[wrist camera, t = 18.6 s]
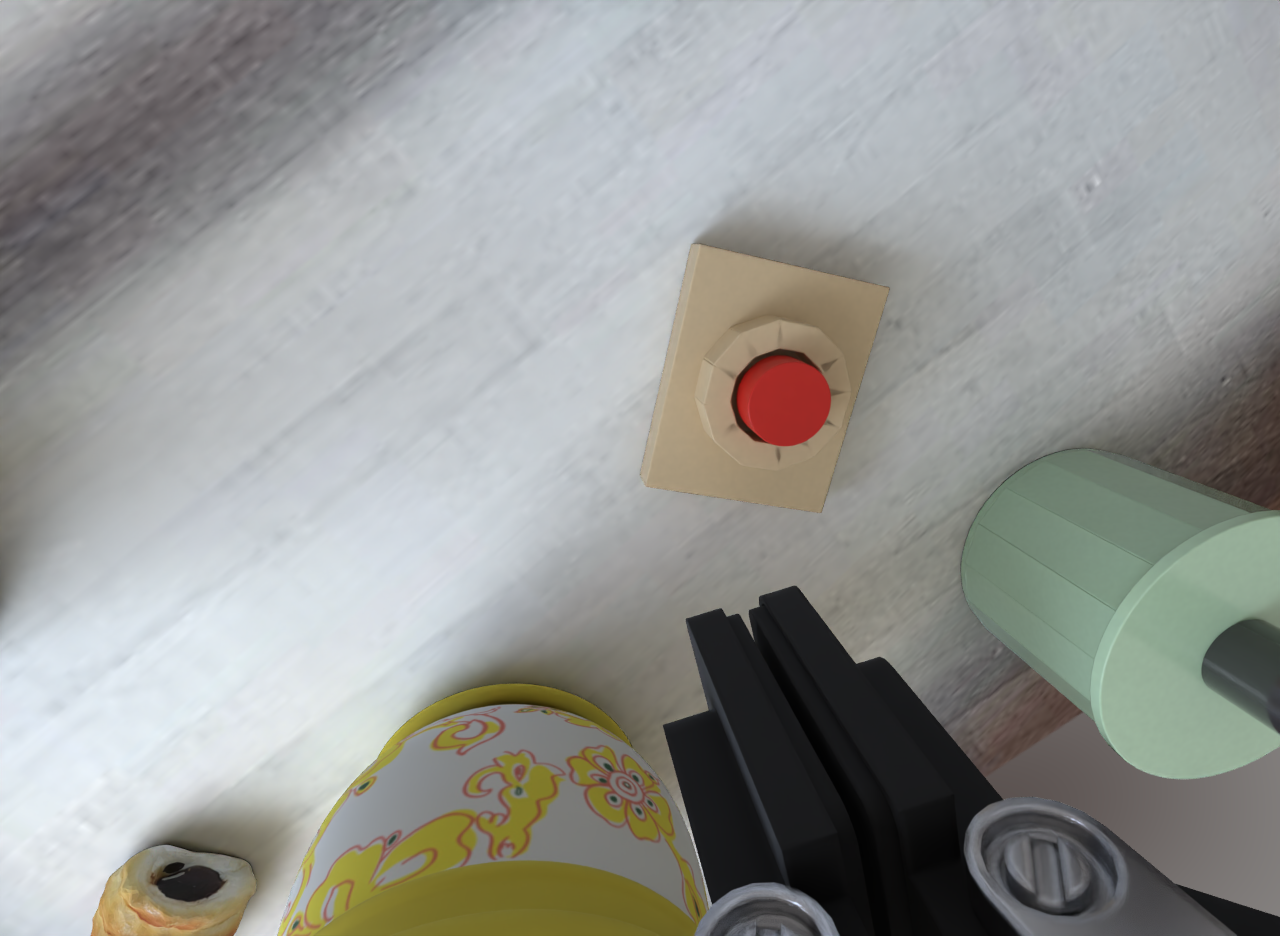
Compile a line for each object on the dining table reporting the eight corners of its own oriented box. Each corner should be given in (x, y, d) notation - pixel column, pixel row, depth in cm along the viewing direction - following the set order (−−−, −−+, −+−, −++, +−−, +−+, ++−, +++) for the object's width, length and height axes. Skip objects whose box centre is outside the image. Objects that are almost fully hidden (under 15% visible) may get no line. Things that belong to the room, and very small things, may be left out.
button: (747, 347, 30) (761, 354, 28) (825, 363, 30) (842, 370, 29) (727, 428, 31) (738, 439, 29) (802, 441, 31) (818, 453, 30)
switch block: (691, 242, 31) (710, 244, 28) (873, 285, 33) (911, 290, 29) (639, 475, 34) (651, 500, 31) (808, 501, 36) (837, 528, 33)
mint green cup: (953, 480, 37) (1100, 564, 27) (1157, 423, 38) (1366, 486, 28) (966, 663, 41) (1098, 791, 31) (1150, 608, 42) (1331, 716, 32)
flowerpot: (353, 922, 40) (245, 1355, 24) (314, 648, 34) (141, 987, 19) (663, 884, 43) (741, 1252, 27) (674, 626, 37) (780, 905, 22)
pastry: (208, 980, 40) (176, 1055, 36) (79, 952, 38) (31, 1028, 34) (270, 858, 38) (243, 924, 34) (138, 823, 36) (93, 888, 32)
